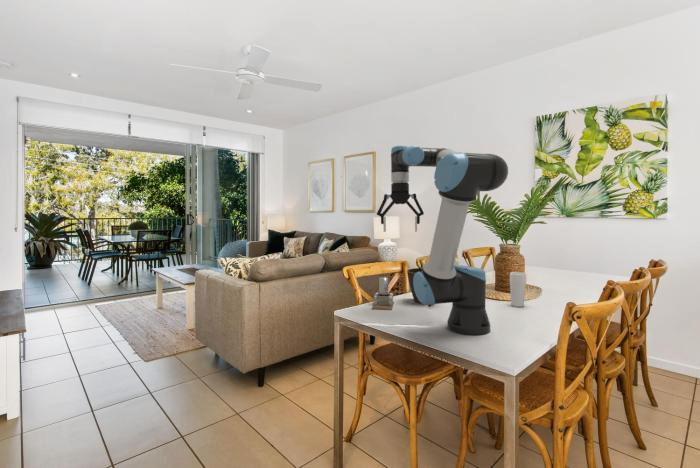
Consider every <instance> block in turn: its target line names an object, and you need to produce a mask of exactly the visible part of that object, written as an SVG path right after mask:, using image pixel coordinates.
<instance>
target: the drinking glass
mask: <svg viewBox="0 0 700 468" xmlns="http://www.w3.org/2000/svg"><path fill="white" fill-rule="evenodd" d="M526 285H527V273H526V272H522V271H511V272H510V273H509V288H510V290H509V291H510V304H511V306H512V307H516V308H523V307H524V305H525V297H526V295H525V294H526V288H527V287H526Z"/></svg>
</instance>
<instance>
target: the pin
mask: <svg viewBox="0 0 700 468" xmlns="http://www.w3.org/2000/svg"><path fill="white" fill-rule="evenodd" d="M378 280H379V281H378V284H379V290H378V291H379V293H380V296H388V293H389V278H388V276H380V277H379V278H378Z"/></svg>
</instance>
